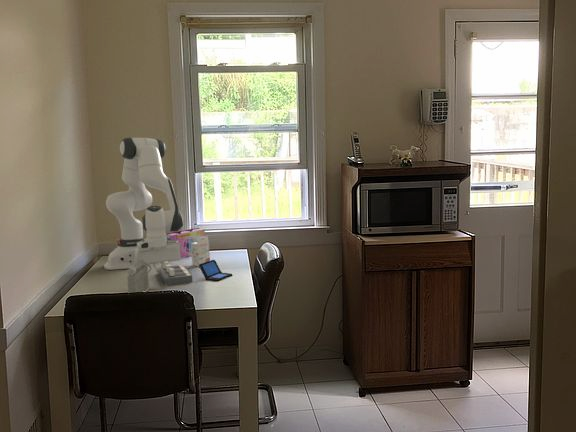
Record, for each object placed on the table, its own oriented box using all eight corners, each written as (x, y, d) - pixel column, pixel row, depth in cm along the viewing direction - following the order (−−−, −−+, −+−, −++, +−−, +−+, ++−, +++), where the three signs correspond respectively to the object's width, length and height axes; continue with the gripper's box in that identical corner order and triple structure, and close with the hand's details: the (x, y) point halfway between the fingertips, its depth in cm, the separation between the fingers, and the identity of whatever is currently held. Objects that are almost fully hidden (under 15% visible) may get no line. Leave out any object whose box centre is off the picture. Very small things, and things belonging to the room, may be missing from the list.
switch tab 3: (170, 276, 271) (169, 269, 271) (169, 274, 274) (168, 268, 274) (174, 275, 272) (174, 269, 272) (173, 274, 275) (173, 267, 274)
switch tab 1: (164, 268, 286) (164, 262, 286) (163, 267, 289) (163, 261, 289) (168, 268, 287) (168, 262, 286) (167, 267, 290) (167, 261, 289)
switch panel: (166, 285, 269) (165, 278, 268) (158, 273, 291) (157, 267, 290) (192, 281, 273) (191, 275, 272) (182, 270, 295) (182, 264, 295)
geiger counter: (137, 258, 261) (119, 272, 237) (151, 258, 261) (135, 271, 237) (140, 289, 264) (122, 306, 239) (154, 288, 263) (138, 305, 239)
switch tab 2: (167, 272, 279) (166, 266, 278) (166, 271, 282) (165, 264, 281) (171, 271, 279) (171, 265, 279) (170, 270, 282) (170, 264, 282)
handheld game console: (217, 282, 271) (216, 266, 270) (199, 280, 277) (198, 264, 276) (233, 276, 282) (232, 260, 281) (215, 273, 288) (214, 258, 286)
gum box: (200, 250, 343) (199, 227, 341) (208, 252, 338) (207, 228, 336) (165, 257, 327) (163, 233, 325) (173, 259, 321) (171, 235, 319)
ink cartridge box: (203, 262, 313) (202, 234, 311) (210, 263, 310) (208, 235, 308) (191, 265, 306) (190, 237, 304) (198, 266, 303) (196, 238, 301)
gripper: (178, 238, 275) (180, 267, 277) (133, 243, 268) (135, 273, 270) (181, 240, 269) (183, 270, 271) (135, 245, 262) (137, 276, 264)
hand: (159, 271), depth 271 cm, fingers closed
